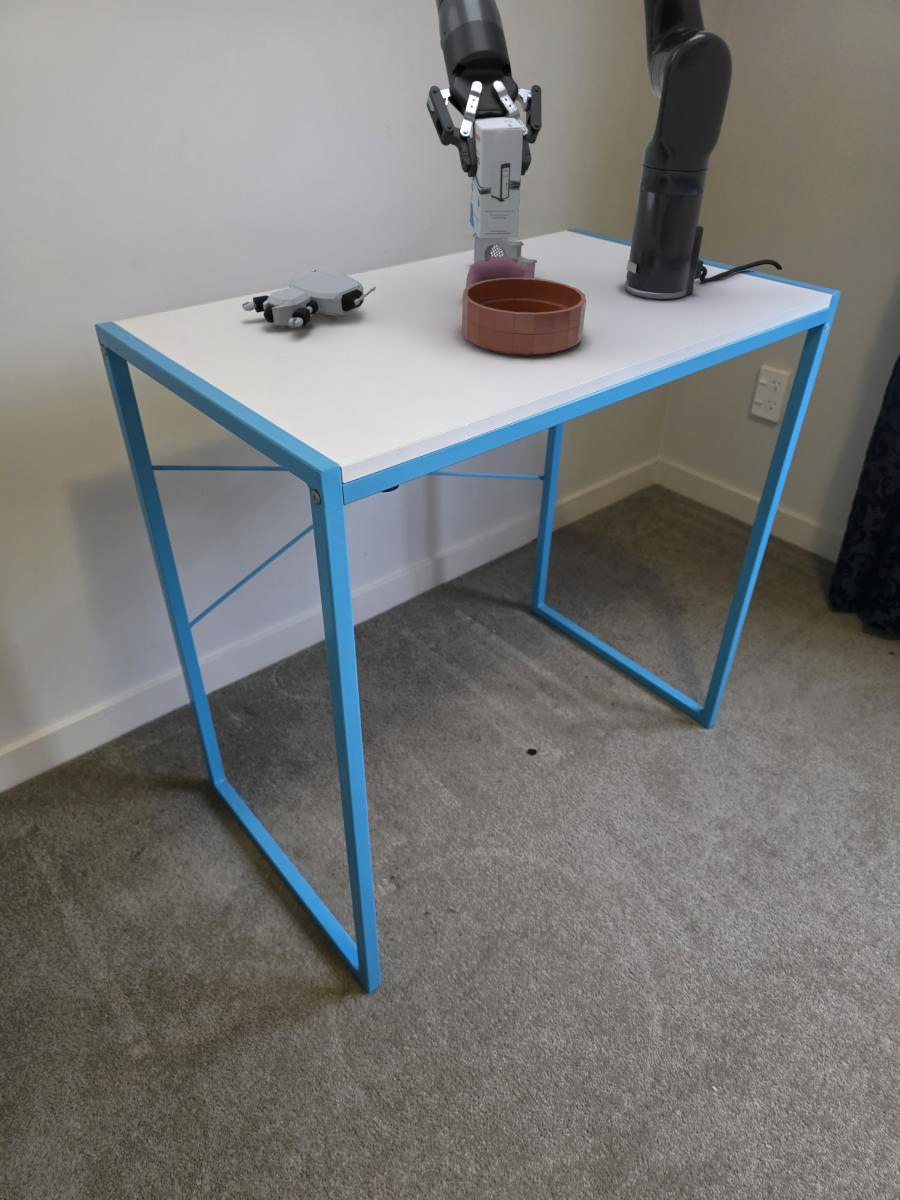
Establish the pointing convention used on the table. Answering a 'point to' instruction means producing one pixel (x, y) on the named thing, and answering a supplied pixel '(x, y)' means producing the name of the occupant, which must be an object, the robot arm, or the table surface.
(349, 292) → the robot toy
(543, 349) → the bowl
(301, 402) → the table surface
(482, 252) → the lattice window wall
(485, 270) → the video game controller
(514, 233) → the ink box
